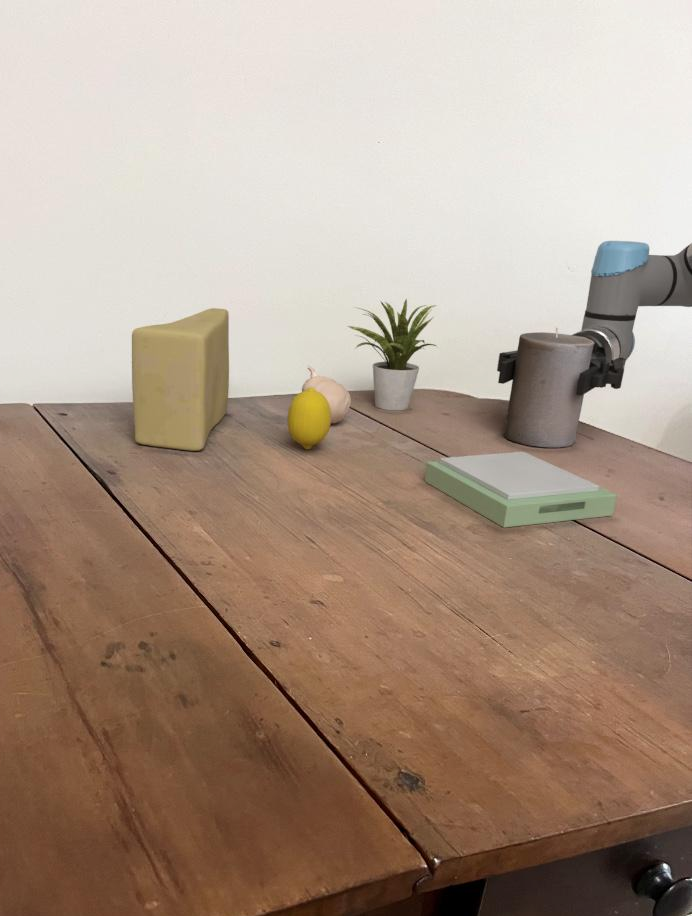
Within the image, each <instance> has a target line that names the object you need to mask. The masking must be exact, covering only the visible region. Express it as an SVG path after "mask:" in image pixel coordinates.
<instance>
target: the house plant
mask: <svg viewBox="0 0 692 916" xmlns="http://www.w3.org/2000/svg"><path fill="white" fill-rule="evenodd" d="M380 303H381V306H382V307H383V309H384V310H385V313H386V315H387V318H388V320H389V321H388V322H389V325H390V329H391V333H390V332H389V330H388V328H387V326H386V325H385V323H384V322H383V321H382V320H381V319H380V318H379V316H377V315H376V314H375V313H373V312H371V311H369V310H367V309H363V308H360V307H357V306H356V307H354V309H358V310H362V311H364V313H362V315H364V316H368V317H370V318H372V319H373V321H374V322H375V324H377V326H378V328H379V330H380V332H381V334H382V335H381V334H379V333H377V332H375V331H372V330H369V329H367V328H363V327H360V326H352V325H351V326H350V325H347V327H348V328H350V329H352V330H354V331H357V332H360V333H361V334H362V335H364V336H366V337H367V338H370V339H371V340H373V341H374V343H373V342H371V341H369V340H368V339H367V338H366V337H364V336H361V335H359V337H361V338H362V339H364V340H366V342H361V343H359V344H357V345H356V346H355V349H357V348H359V347H361V346H365V345H368V346H371V347H372V348H373V349H374V350H375V351H376V352H377V353H378V354H379V356H380V357H381V359H383V361H378V362H374V363H373V364H372V374H373V375H372V376H373V377H372V378H373V391H374V406H375V407H376V408H378V409H381V410H387V411H404V410H408V409H409V406H410V403H411V399H412V395H413V391H414V388H415V385H416V381H417V377H418V374H419V371H420V366H418V365H417V364H413V363H409V360H410V359H411V358H412V356H413V355H414V354H415V353H416V352H418V351H419V350H420V351H421V350H422V349H423V350H425V348H424V347H427V346H432V347H433V346H434V347H436V348H437V349H439V348H438V346H437V344H434V343H425V339H417V338H418V336H419V335H420V334H421V332H422V331H423V330H424V329H425V328H426V327H427V325H428V324H429V323H430V322H431V321H432V320H433V317H431V318H430V319H428V320H426V319H427V318H428V316H429V314H430V313H431V312H432V311H433V310H432V308H434V307H436V306H437V305H436V304H435V305H434V304H433V305H429V306H428V305H427V304H425V305H420V306H418V307H416V308H415V309H414V310H413V311H412V312H411V314H410V315H409V317H408V318H407V311H408V299H407V298H405V300H404V302H403V307H402V309H401V312H399V311H396V315H397V322H396V315H395V311H394V308H393V306H392V305H391V304H390V303H388V302H386V301H384V303H383V302H382V301H380ZM385 304H386V305H385ZM423 307H424V308H423ZM421 308H422V310H421V311H419V313H418V314H417V315H416V316H415V314H416V313H417V312H418V310H419V309H421ZM414 316H415V318H414V319H413V317H414ZM412 319H413V320H412ZM411 320H412V322H411ZM425 320H426V321H425ZM410 323H411V325H410ZM409 326H410V328H409ZM391 334H392V335H391ZM355 336H356V337H358V334H357V335H356V334H355ZM420 342H421V343H423V344H421V345H418V344H419V343H420ZM376 343H377V344H379V345H377V344H376ZM376 348H377V349H376ZM378 350H379V351H381V353H382V354H383V355H382V354H381V353H380V352H379V351H378Z"/></svg>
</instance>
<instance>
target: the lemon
mask: <svg viewBox="0 0 692 916" xmlns="http://www.w3.org/2000/svg"><path fill="white" fill-rule="evenodd" d="M286 420H287V429H288V432H289V435H290V436H291V438H292V439H293V440H294V441H295V442H296V443H298V444H300V445H301V446H302V448H304V450H311V449H312V448H313V446H315V445H318V444H319V443H321V442H323V440H325V438H326V437H327V435H328V433H329V432H330V428H331V424H332V423H331V412H330V407H329V403H328V401H327V399H326V398H325V397H324V396H323V395H322V394H321V393H319V392H317V391H315V389H314V388H308V389H307V390H306V391H303V392H302V391H301V392H298V394H297V395H295V397H293V398H292V401H291V402H290V405H289V409H288V414H287V419H286Z"/></svg>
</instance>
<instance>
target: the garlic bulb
mask: <svg viewBox="0 0 692 916" xmlns="http://www.w3.org/2000/svg"><path fill="white" fill-rule="evenodd" d="M307 370H308V371H309V372H310V378H308V379H306V380H305V381H304V383H303V384H302V386H301V392H303V391H306V390H307V389H308V388H314V389H315V391H317V392H319V393H321V394H322V395H323V396H324V397H325V398H326V399H327V401H328V403H329V407H330V412H331V424H337V423H340V422H341V421H342V420H344V418H345V417H346V416H347V414H348V412H349V410H350V408H351V404H352V398H351V395H350V392H349V391H348V390H347V388H346V387H345V386H344V385H343V384H341V383H339V382H338V381H336V380H335V379H333V378H331V377H327V376H321V375H318V374H317V372H316V369H315V368H313V367H312V366H311V365H309V364H308V366H307Z"/></svg>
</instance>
